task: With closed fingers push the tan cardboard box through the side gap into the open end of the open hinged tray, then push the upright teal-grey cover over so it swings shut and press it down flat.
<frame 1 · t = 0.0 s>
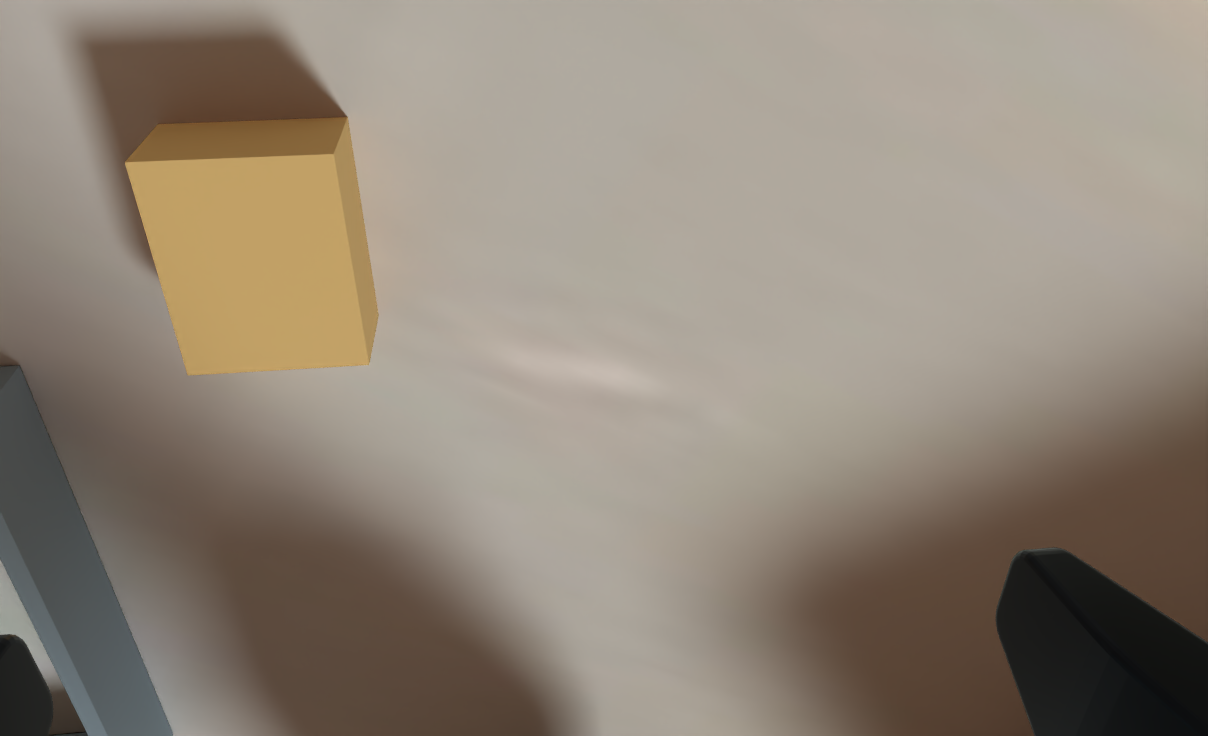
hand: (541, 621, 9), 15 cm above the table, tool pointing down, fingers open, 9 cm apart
tan cardboard box: (278, 221, 22), on the table
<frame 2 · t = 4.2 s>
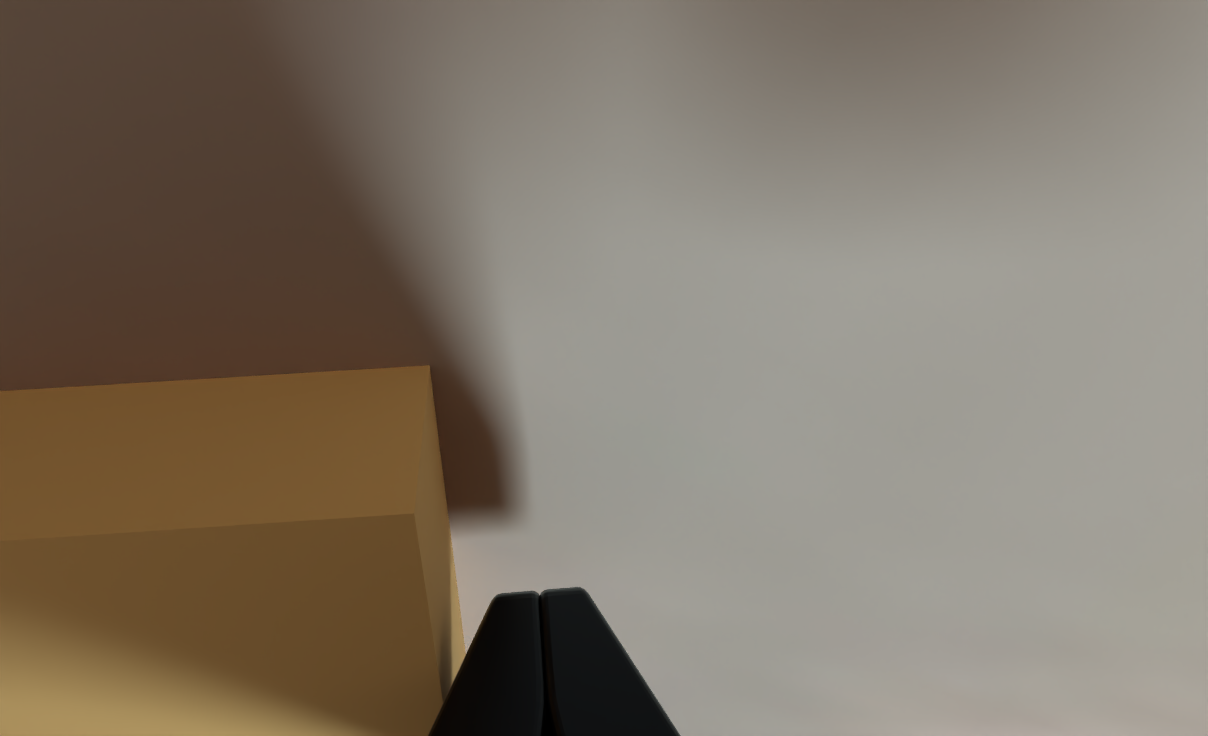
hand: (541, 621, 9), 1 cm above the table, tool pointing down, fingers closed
tan cardboard box: (264, 542, 10), on the table
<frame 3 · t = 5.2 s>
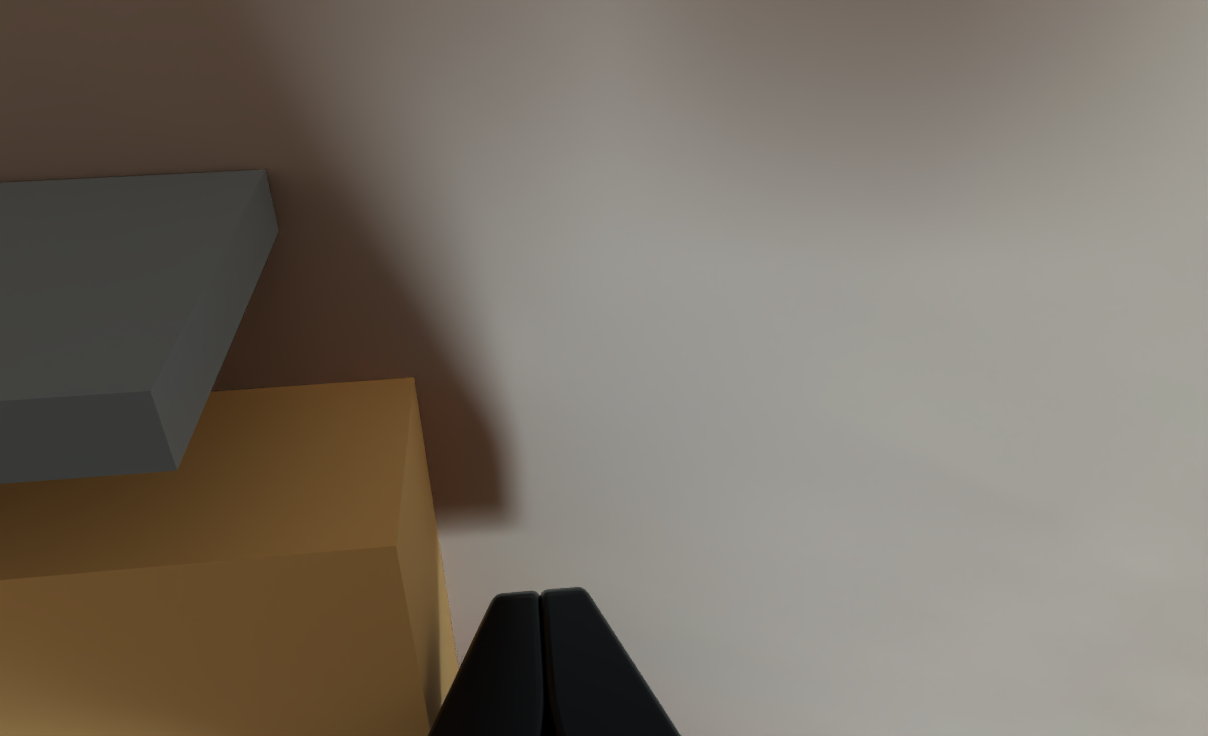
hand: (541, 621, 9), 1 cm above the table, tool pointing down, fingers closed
tan cardboard box: (250, 571, 10), on the table, touching gripper
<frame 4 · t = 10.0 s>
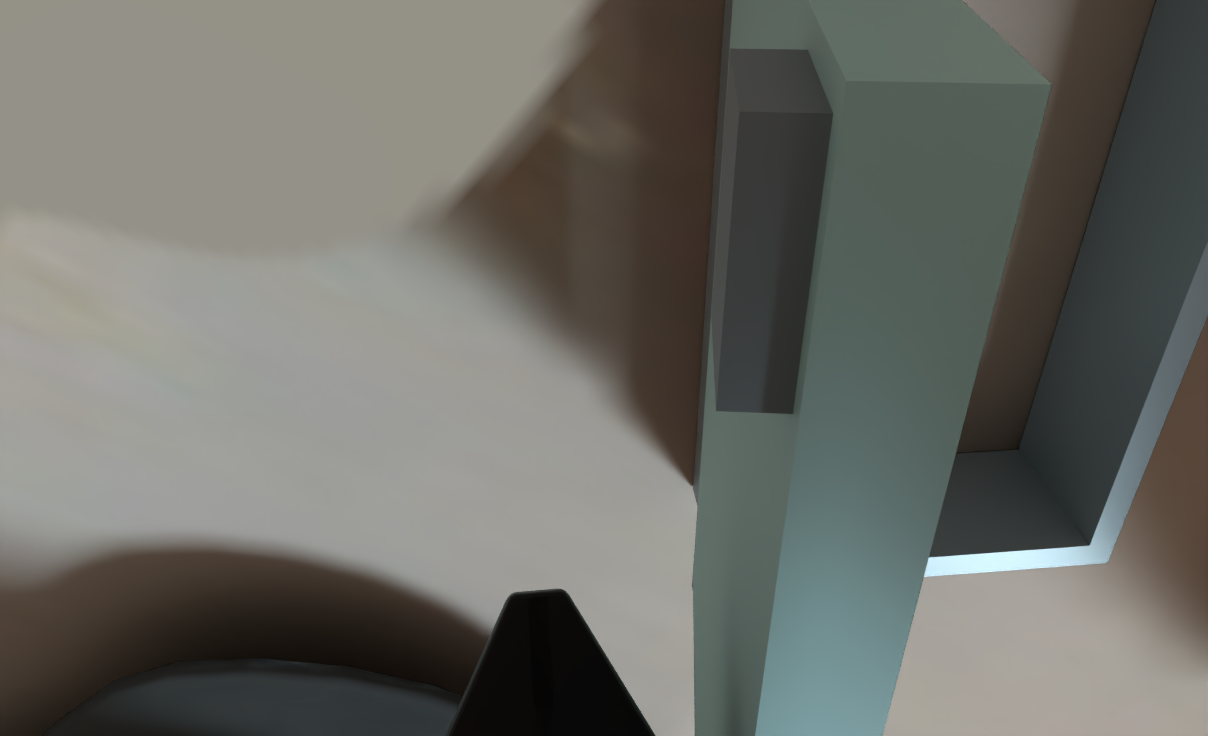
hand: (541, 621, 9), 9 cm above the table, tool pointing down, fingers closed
cover: (739, 470, 10), point 7 cm above the table, hinge at 99.5°, touching gripper
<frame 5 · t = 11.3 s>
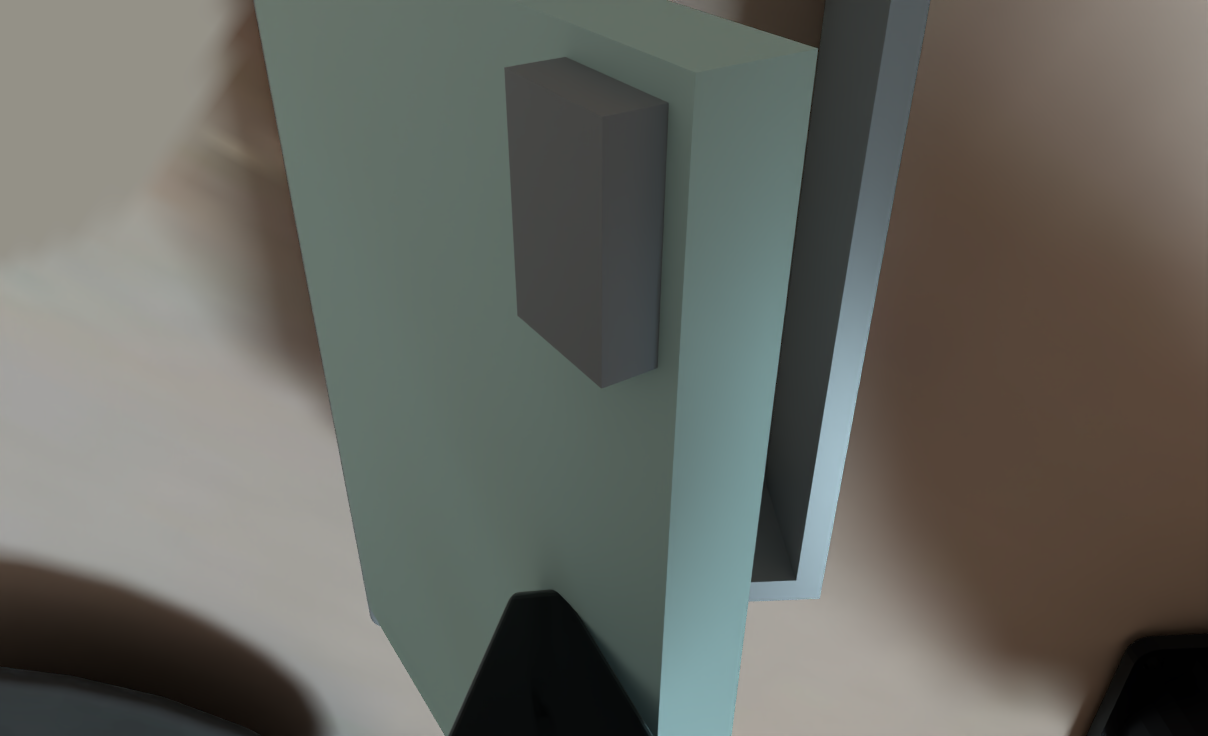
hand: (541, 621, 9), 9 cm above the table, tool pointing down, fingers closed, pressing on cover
cover: (449, 474, 11), point 7 cm above the table, hinge at 59.9°, touching gripper
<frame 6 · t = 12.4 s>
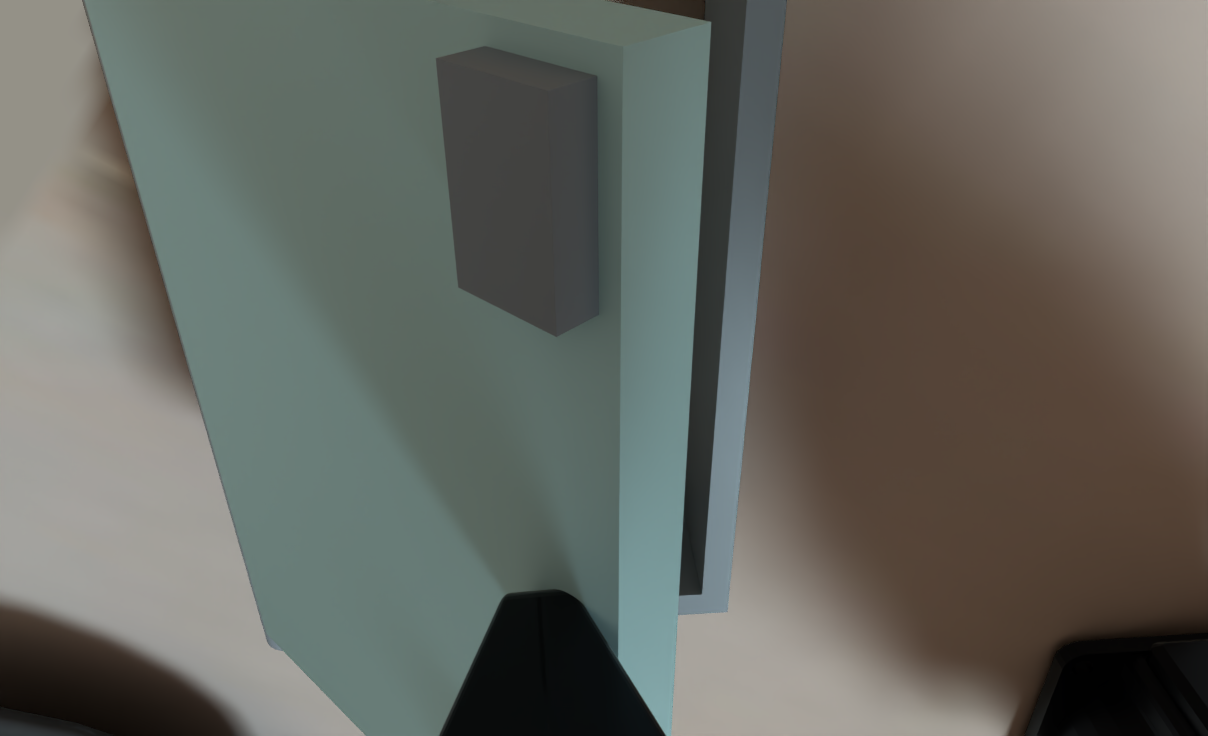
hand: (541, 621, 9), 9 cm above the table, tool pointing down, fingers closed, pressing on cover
cover: (360, 471, 11), point 6 cm above the table, hinge at 47.7°, touching gripper
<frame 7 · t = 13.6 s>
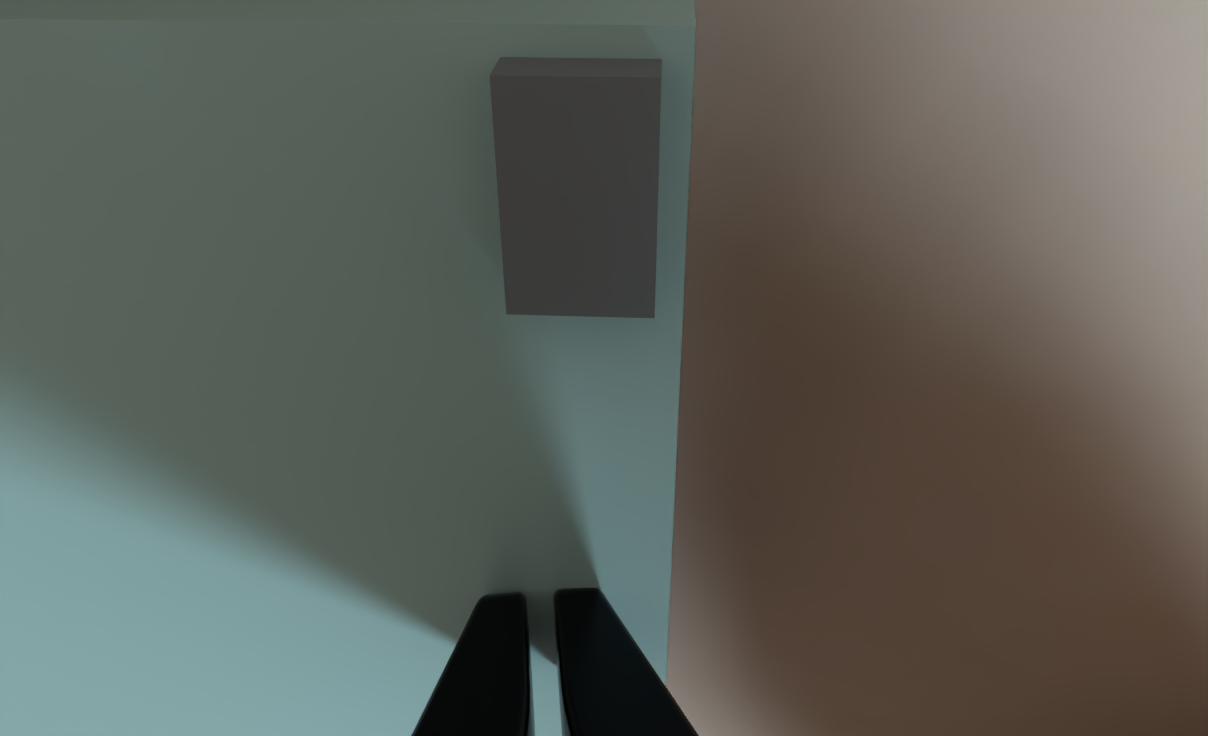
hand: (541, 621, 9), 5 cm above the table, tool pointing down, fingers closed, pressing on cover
cover: (228, 611, 9), point 4 cm above the table, hinge at 9.1°, touching gripper
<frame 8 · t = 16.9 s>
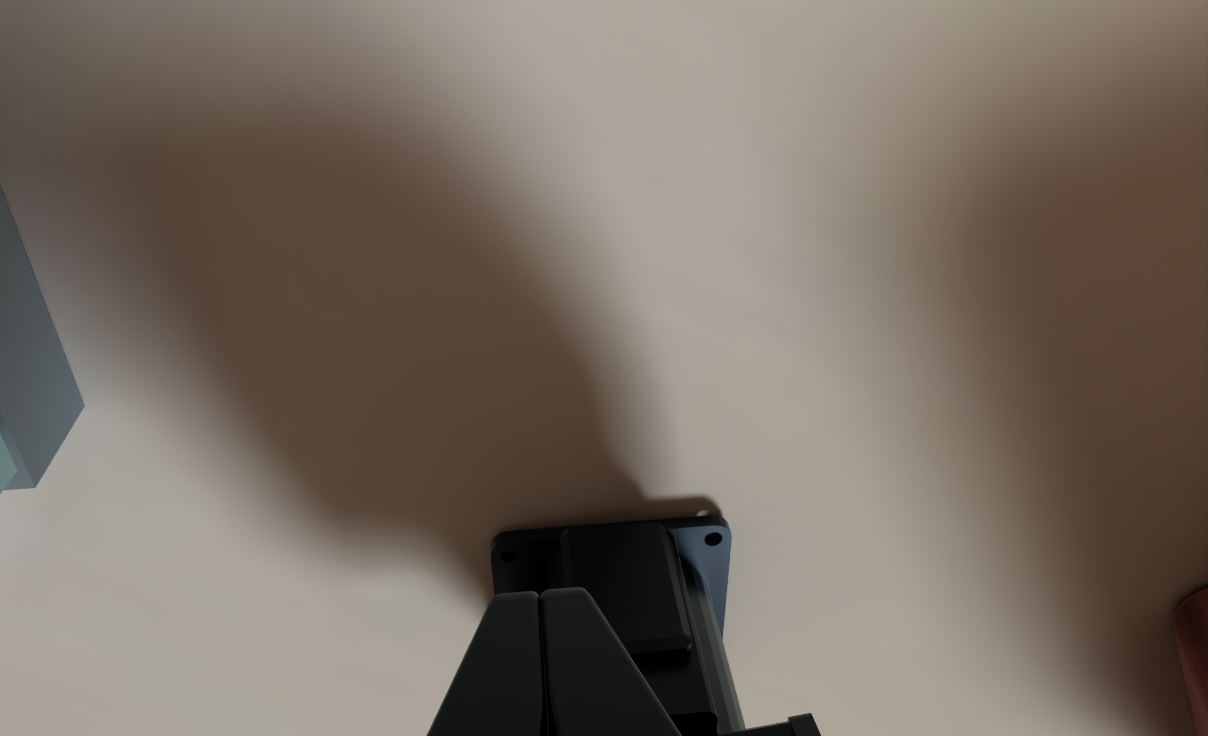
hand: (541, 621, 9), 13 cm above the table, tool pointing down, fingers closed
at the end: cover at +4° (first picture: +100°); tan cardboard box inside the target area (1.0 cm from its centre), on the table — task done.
